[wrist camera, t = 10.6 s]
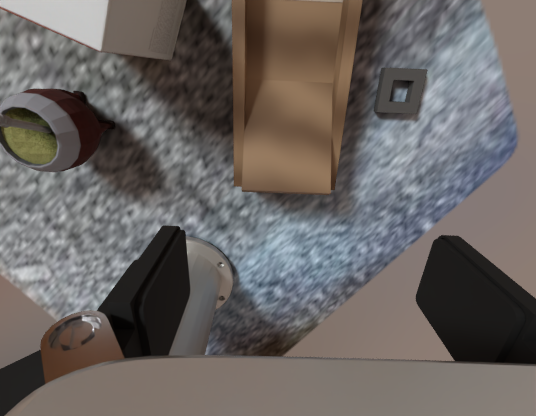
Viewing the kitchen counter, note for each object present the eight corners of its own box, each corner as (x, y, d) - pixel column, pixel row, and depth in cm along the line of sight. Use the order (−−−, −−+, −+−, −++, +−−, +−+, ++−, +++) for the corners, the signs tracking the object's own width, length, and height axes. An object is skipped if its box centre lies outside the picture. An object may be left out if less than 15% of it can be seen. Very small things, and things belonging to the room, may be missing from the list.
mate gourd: (59, 152, 32) (-100, 211, 18) (41, 74, 28) (-171, 73, 15) (127, 158, 32) (20, 219, 18) (117, 81, 28) (-23, 86, 15)
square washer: (412, 112, 30) (416, 113, 29) (373, 110, 29) (376, 112, 29) (422, 69, 28) (427, 69, 27) (381, 67, 28) (385, 67, 27)
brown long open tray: (326, 175, 32) (340, 201, 26) (238, 172, 32) (230, 196, 26) (374, -189, 21) (422, -310, 14) (237, -196, 21) (221, -321, 14)
